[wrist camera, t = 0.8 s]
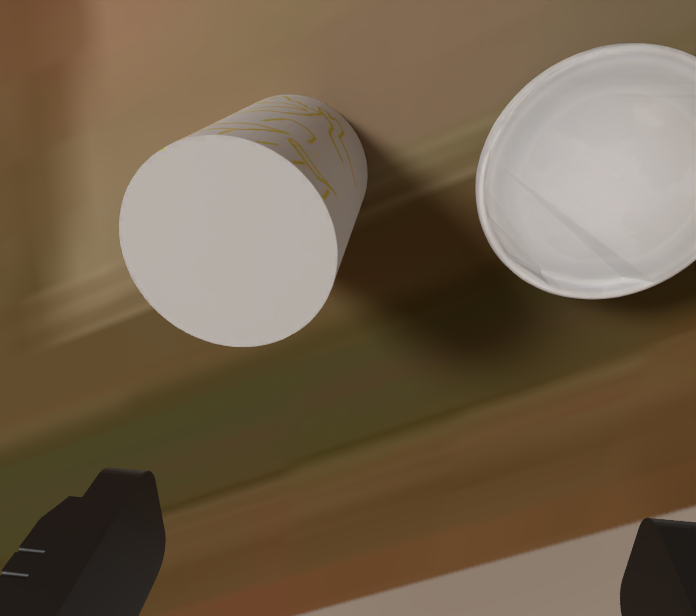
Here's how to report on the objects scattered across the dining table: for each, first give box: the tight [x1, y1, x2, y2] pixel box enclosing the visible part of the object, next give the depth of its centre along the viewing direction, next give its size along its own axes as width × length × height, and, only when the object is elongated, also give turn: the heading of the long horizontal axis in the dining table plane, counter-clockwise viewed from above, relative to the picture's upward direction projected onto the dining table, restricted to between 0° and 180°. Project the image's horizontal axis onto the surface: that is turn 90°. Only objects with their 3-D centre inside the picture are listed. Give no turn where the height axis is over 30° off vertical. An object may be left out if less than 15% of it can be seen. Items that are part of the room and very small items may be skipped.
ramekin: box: [476, 43, 696, 299], centre depth 28 cm, size 11×11×5 cm
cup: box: [119, 95, 368, 347], centre depth 27 cm, size 8×8×12 cm
